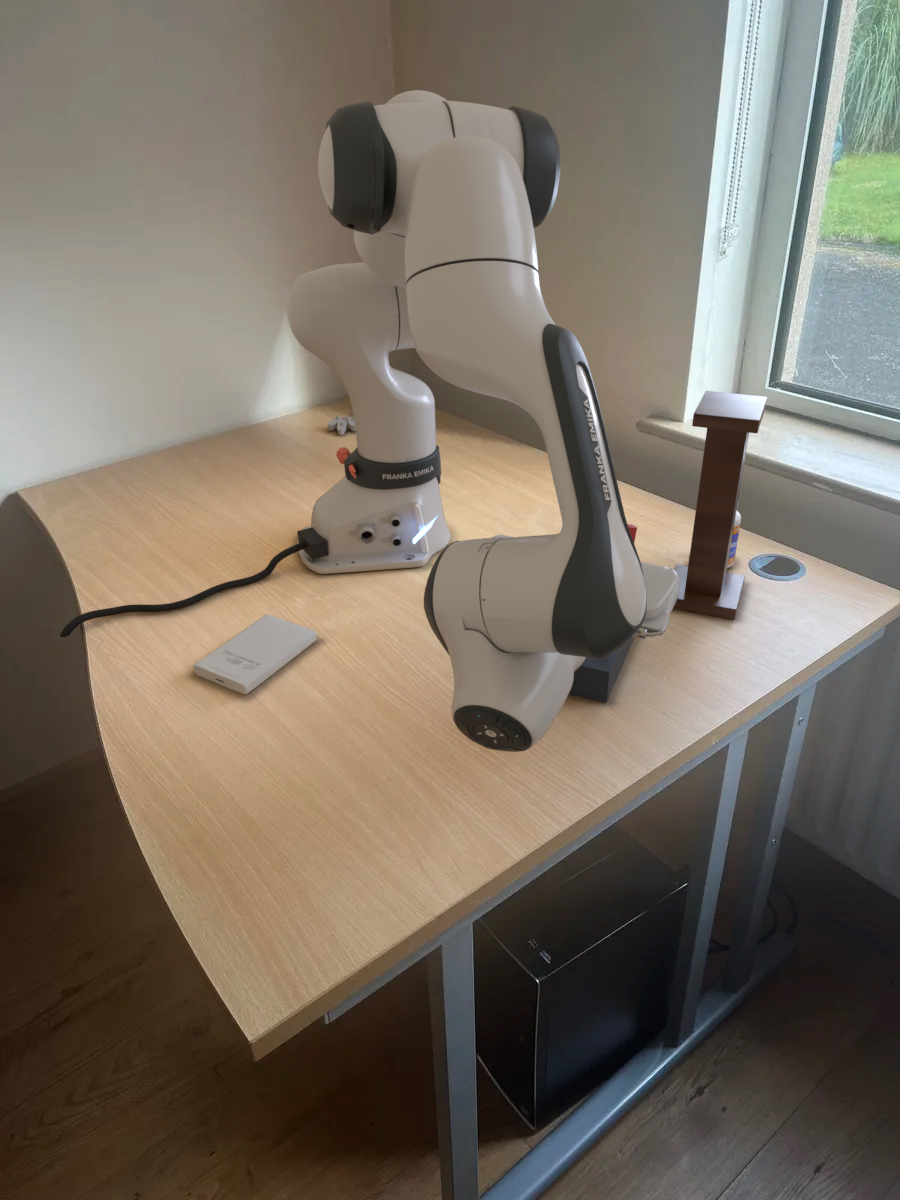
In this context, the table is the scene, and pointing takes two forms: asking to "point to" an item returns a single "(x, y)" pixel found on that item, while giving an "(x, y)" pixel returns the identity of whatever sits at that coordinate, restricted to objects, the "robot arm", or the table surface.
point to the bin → (599, 675)
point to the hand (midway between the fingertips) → (596, 537)
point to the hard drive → (255, 654)
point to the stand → (718, 503)
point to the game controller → (341, 424)
